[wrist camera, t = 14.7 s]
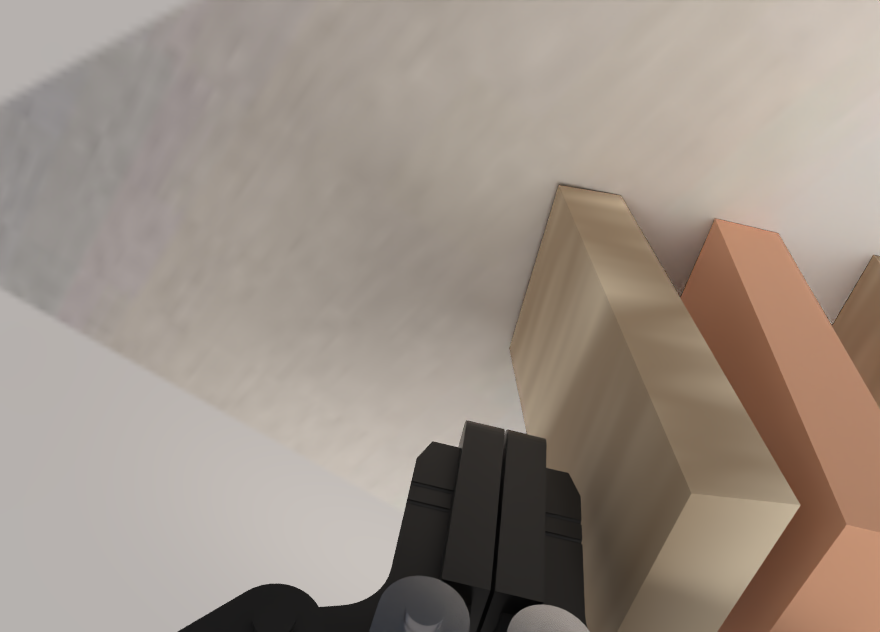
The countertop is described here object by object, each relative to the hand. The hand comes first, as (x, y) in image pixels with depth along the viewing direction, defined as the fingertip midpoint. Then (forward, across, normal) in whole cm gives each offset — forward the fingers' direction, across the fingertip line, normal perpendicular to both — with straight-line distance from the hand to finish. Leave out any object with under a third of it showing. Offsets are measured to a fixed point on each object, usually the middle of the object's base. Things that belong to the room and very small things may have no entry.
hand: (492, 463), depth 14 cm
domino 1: (+7, -1, 0) cm, 7 cm away
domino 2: (+7, -5, 0) cm, 9 cm away
